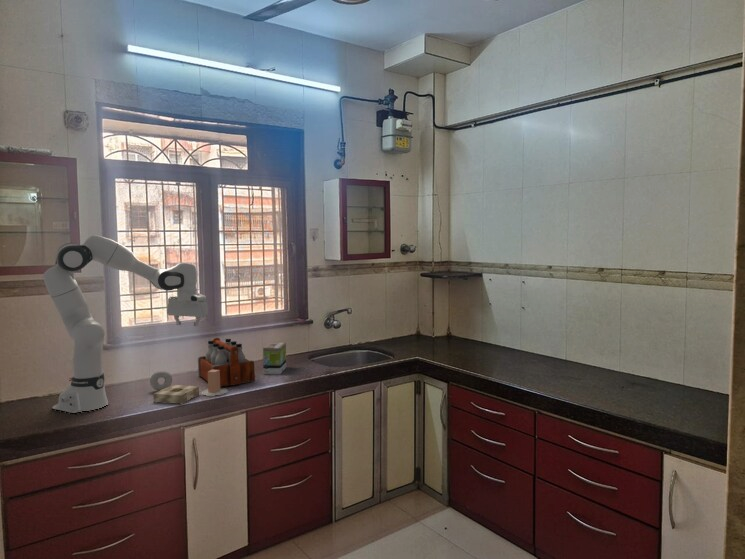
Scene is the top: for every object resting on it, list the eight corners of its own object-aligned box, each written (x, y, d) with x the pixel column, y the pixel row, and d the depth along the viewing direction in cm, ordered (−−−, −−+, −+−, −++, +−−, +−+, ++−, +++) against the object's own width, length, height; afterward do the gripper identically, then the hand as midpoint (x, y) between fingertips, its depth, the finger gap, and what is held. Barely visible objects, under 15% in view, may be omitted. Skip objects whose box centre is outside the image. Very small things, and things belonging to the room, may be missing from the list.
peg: (208, 392, 238) (207, 371, 237) (212, 389, 242) (212, 369, 241) (215, 392, 237) (215, 372, 236) (220, 390, 241) (219, 369, 240)
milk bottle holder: (215, 389, 242) (214, 349, 241) (196, 374, 271) (195, 339, 270) (257, 382, 254) (256, 344, 253) (235, 369, 283) (234, 335, 282)
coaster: (196, 395, 235) (196, 394, 235) (210, 388, 247) (210, 386, 247) (219, 397, 232) (218, 396, 232) (232, 389, 244) (232, 388, 244)
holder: (153, 402, 226) (153, 393, 226) (173, 393, 239) (173, 384, 239) (180, 404, 222) (180, 395, 222) (199, 395, 236) (198, 386, 236)
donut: (172, 388, 247) (172, 368, 246) (172, 390, 243) (171, 370, 242) (150, 390, 243) (149, 370, 243) (150, 392, 240) (149, 372, 239)
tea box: (281, 374, 271) (280, 347, 270) (262, 374, 271) (262, 347, 270) (286, 367, 286) (286, 342, 285) (269, 367, 286) (268, 342, 285)
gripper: (163, 296, 238) (164, 325, 239) (201, 298, 233) (202, 327, 234) (172, 295, 244) (172, 323, 245) (209, 296, 239) (209, 325, 240)
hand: (187, 325), depth 239 cm, fingers open, 8 cm apart
